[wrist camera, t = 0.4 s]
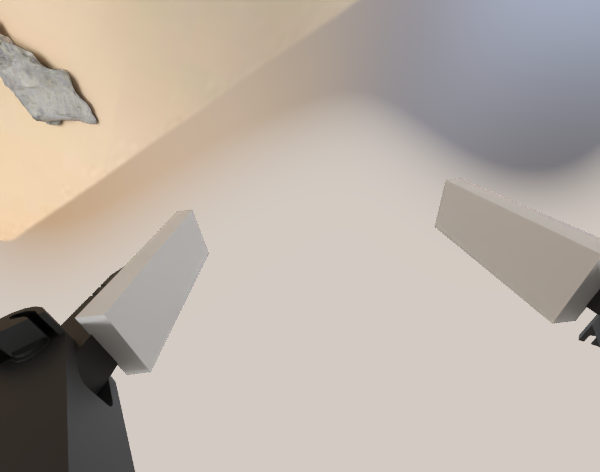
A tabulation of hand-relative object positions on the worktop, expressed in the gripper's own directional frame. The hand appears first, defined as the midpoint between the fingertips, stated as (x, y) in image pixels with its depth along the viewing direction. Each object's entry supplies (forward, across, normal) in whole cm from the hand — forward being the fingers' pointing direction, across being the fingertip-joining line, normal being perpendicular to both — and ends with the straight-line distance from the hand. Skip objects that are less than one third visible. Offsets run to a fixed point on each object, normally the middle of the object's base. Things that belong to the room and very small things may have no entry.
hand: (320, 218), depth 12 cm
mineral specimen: (+28, -32, +11) cm, 43 cm away
